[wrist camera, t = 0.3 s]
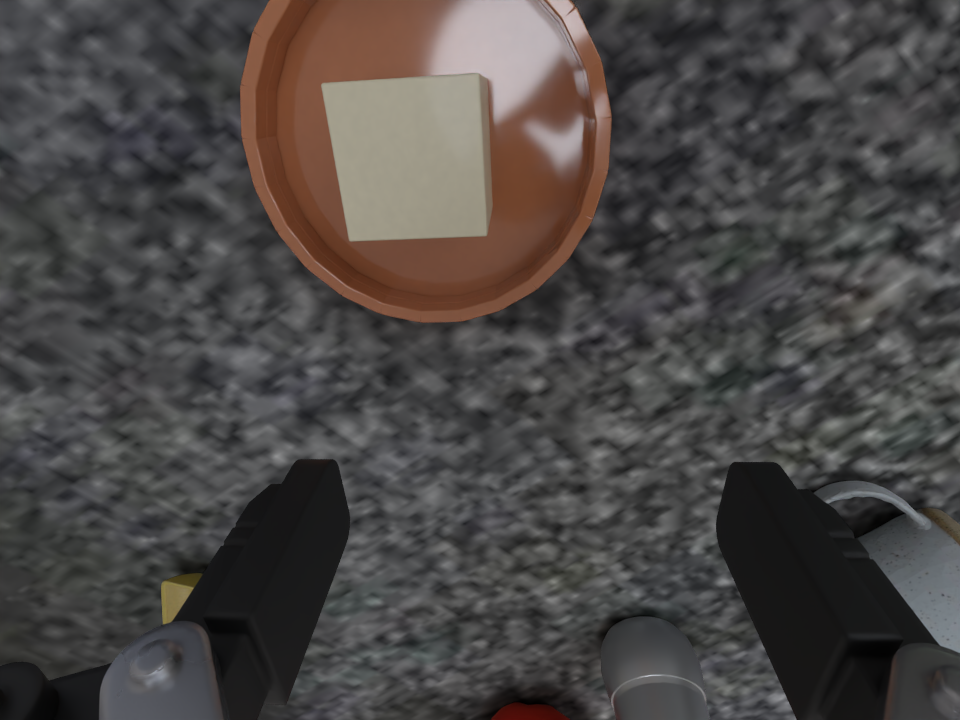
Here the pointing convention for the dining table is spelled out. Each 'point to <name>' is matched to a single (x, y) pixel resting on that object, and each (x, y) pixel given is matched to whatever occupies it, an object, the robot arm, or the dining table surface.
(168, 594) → the saucer
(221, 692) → the robot arm
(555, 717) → the tomato
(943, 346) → the dining table surface
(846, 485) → the ceramic mug
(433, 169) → the block
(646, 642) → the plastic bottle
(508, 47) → the terracotta dish
